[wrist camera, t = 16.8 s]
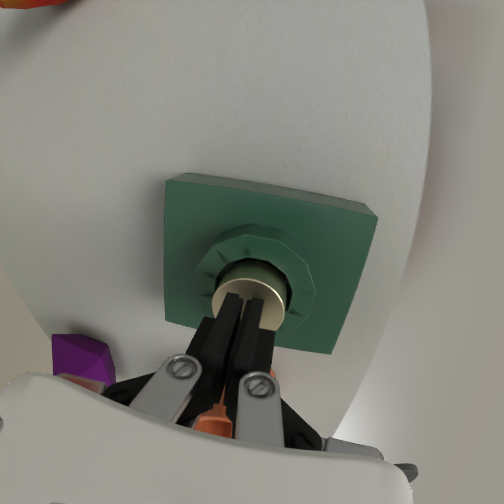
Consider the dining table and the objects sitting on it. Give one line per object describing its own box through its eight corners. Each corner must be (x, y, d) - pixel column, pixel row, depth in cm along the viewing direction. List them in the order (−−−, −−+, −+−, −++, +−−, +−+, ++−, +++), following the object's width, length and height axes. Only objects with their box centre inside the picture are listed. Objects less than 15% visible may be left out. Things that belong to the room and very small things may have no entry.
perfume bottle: (83, 362, 29) (11, 458, 13) (67, 318, 26) (-27, 420, 10) (129, 381, 28) (61, 497, 12) (117, 337, 25) (21, 468, 9)
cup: (282, 362, 23) (275, 428, 17) (269, 403, 26) (260, 460, 19) (209, 347, 23) (184, 407, 17) (207, 390, 26) (187, 443, 20)
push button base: (365, 203, 17) (388, 227, 12) (328, 327, 21) (332, 373, 16) (186, 172, 18) (150, 185, 13) (180, 298, 22) (154, 336, 17)
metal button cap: (292, 267, 14) (292, 287, 12) (279, 321, 16) (277, 345, 14) (224, 254, 15) (213, 271, 13) (219, 309, 16) (209, 331, 14)
